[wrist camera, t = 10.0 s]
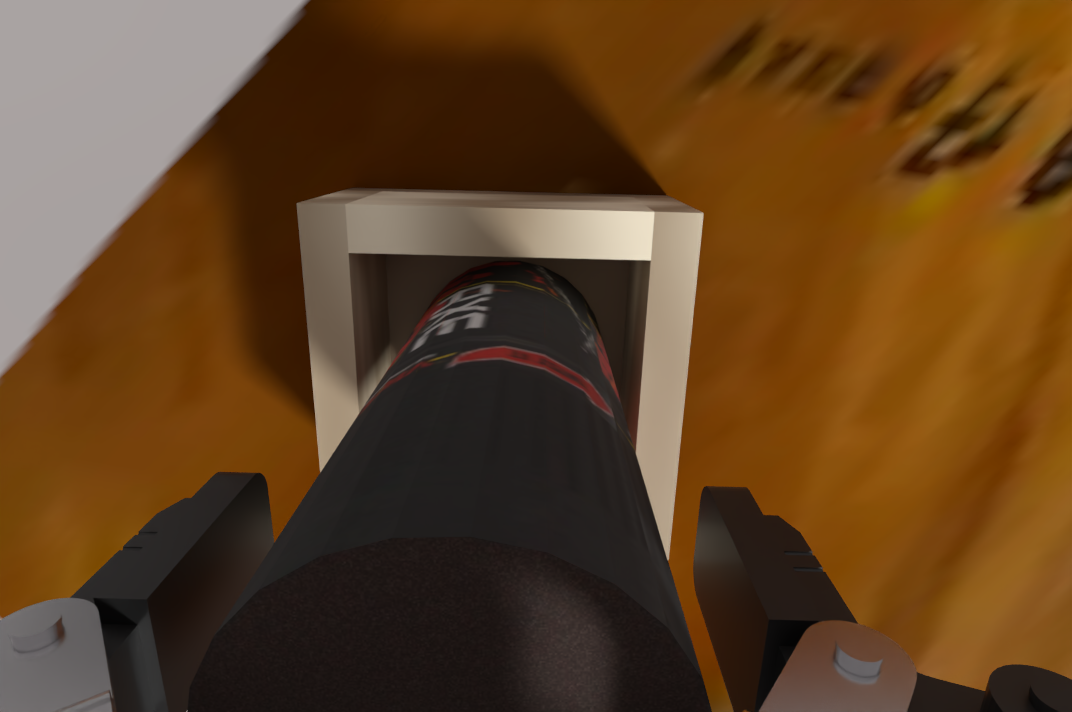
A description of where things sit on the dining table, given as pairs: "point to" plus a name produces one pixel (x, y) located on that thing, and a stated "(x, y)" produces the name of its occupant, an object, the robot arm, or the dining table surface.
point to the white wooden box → (504, 235)
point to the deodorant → (470, 536)
